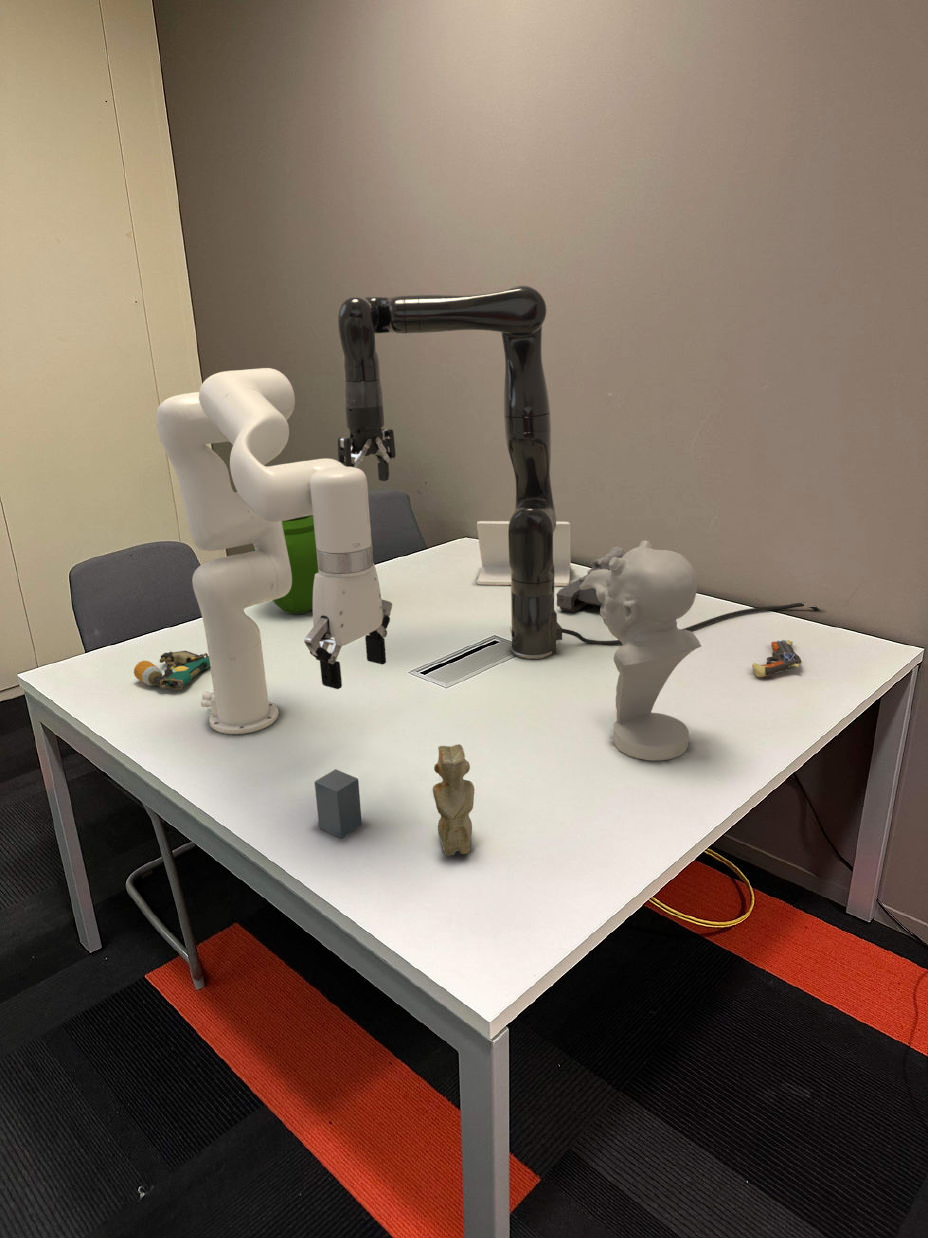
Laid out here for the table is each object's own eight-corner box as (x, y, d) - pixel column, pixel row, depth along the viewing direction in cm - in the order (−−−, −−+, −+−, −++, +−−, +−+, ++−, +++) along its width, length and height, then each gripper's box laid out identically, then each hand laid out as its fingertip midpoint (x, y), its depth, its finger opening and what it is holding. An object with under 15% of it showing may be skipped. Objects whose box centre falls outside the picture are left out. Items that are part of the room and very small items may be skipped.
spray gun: (177, 659, 191) (231, 671, 185) (120, 684, 176) (176, 698, 171) (176, 641, 190) (230, 653, 184) (118, 665, 175) (174, 678, 169)
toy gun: (755, 668, 170) (808, 665, 168) (743, 639, 188) (791, 635, 186) (755, 681, 171) (808, 678, 169) (744, 650, 189) (791, 647, 187)
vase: (352, 603, 220) (345, 511, 212) (301, 627, 205) (291, 529, 197) (296, 592, 230) (287, 503, 222) (243, 614, 215) (231, 520, 206)
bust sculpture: (625, 695, 166) (632, 519, 153) (713, 748, 146) (730, 550, 133) (556, 715, 159) (558, 532, 146) (639, 773, 139) (650, 567, 127)
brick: (339, 814, 130) (335, 768, 128) (362, 825, 128) (358, 778, 125) (319, 828, 127) (314, 781, 124) (341, 839, 125) (337, 791, 122)
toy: (603, 584, 229) (605, 530, 224) (673, 597, 218) (677, 540, 213) (555, 612, 210) (556, 553, 205) (630, 627, 199) (633, 566, 194)
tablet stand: (569, 585, 229) (570, 524, 223) (476, 584, 232) (475, 523, 226) (570, 566, 246) (571, 508, 240) (484, 564, 249) (483, 507, 243)
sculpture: (474, 829, 125) (472, 739, 120) (477, 859, 119) (474, 765, 113) (434, 831, 125) (430, 741, 120) (435, 861, 119) (431, 767, 113)
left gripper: (365, 541, 125) (373, 649, 131) (279, 572, 112) (293, 691, 118) (405, 547, 121) (412, 658, 127) (322, 580, 108) (334, 702, 114)
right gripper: (374, 399, 177) (379, 476, 183) (324, 406, 167) (331, 488, 173) (401, 400, 173) (406, 480, 179) (352, 408, 163) (358, 492, 168)
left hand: (355, 674), depth 122 cm, fingers open, 9 cm apart
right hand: (369, 484), depth 176 cm, fingers open, 8 cm apart
